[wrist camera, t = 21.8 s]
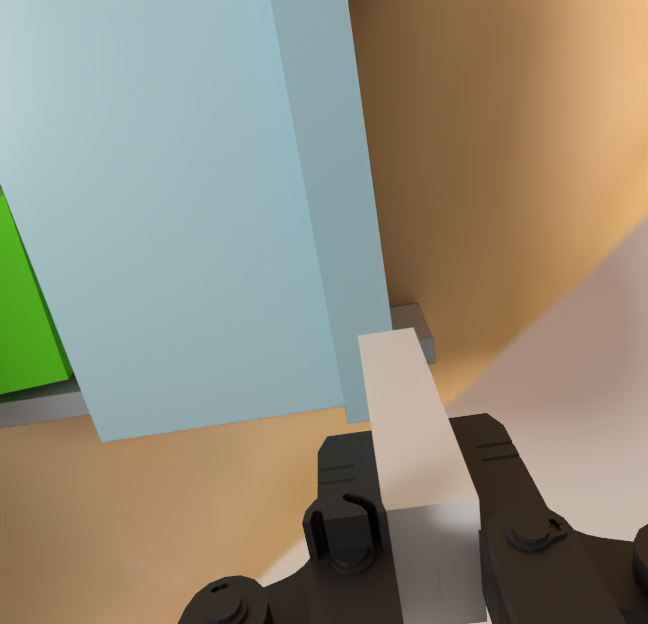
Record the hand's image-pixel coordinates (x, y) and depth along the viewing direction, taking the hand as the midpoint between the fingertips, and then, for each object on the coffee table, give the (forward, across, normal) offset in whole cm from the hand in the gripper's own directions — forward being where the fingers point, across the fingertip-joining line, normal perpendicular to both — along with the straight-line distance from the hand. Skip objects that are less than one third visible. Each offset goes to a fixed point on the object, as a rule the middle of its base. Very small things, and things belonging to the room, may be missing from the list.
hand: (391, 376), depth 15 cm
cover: (+11, -6, +5) cm, 14 cm away
